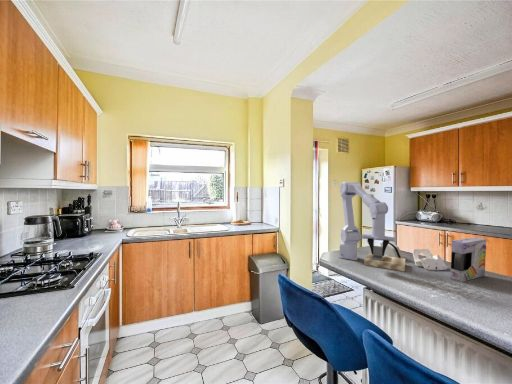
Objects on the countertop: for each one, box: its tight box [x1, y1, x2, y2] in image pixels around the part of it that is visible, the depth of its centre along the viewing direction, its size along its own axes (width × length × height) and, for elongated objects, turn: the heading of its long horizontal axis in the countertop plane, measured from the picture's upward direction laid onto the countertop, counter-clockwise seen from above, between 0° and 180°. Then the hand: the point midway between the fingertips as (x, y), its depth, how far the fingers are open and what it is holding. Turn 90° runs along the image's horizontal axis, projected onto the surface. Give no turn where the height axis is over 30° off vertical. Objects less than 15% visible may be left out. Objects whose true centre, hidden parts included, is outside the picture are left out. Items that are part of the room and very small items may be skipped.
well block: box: [364, 253, 406, 272], centre depth 128 cm, size 18×13×3 cm
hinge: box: [379, 241, 407, 262], centre depth 144 cm, size 17×5×10 cm, turn 179°
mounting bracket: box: [411, 248, 448, 271], centre depth 124 cm, size 12×6×11 cm, turn 90°
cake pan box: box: [450, 236, 487, 283], centre depth 110 cm, size 19×5×18 cm, turn 112°
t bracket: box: [372, 245, 383, 261], centre depth 119 cm, size 4×7×6 cm, turn 147°
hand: (377, 254), depth 119 cm, fingers closed on t bracket, 4 cm apart
